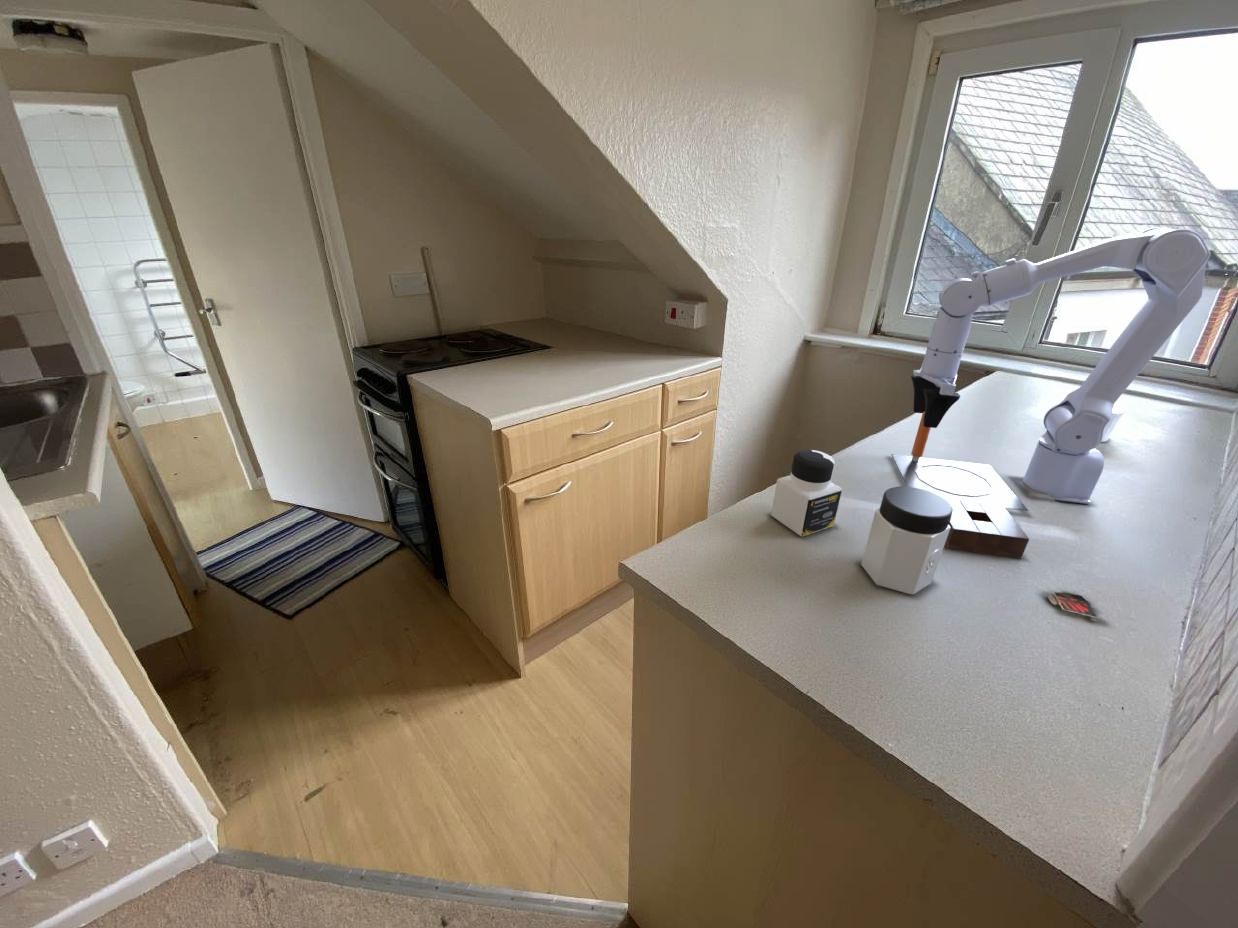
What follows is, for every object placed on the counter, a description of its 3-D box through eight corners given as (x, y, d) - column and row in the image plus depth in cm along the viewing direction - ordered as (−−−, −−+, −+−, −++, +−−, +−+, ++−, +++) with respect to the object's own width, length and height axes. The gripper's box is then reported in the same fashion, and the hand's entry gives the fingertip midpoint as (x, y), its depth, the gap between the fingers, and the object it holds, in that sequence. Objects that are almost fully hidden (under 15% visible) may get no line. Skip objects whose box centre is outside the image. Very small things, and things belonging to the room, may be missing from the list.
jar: (904, 602, 69) (930, 525, 64) (850, 569, 75) (869, 496, 70) (941, 579, 73) (967, 505, 68) (886, 549, 79) (907, 479, 74)
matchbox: (1079, 595, 71) (1080, 592, 70) (1105, 622, 66) (1107, 619, 66) (1041, 591, 71) (1042, 588, 71) (1065, 618, 67) (1066, 615, 66)
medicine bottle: (801, 537, 82) (815, 469, 77) (770, 515, 88) (780, 450, 82) (834, 526, 85) (850, 459, 80) (801, 506, 91) (814, 442, 85)
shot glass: (1078, 439, 118) (1090, 410, 115) (1067, 429, 124) (1079, 400, 121) (1116, 445, 116) (1130, 415, 113) (1103, 433, 122) (1117, 405, 119)
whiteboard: (988, 469, 105) (990, 464, 104) (1026, 515, 89) (1029, 510, 88) (890, 458, 108) (891, 453, 108) (910, 501, 93) (912, 495, 92)
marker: (919, 458, 106) (933, 412, 102) (921, 463, 104) (936, 415, 100) (908, 457, 106) (921, 411, 102) (910, 461, 105) (924, 414, 100)
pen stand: (995, 523, 87) (1003, 504, 85) (1021, 558, 78) (1029, 539, 76) (929, 514, 89) (935, 496, 87) (946, 548, 80) (953, 528, 79)
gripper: (911, 338, 102) (894, 404, 108) (931, 357, 90) (910, 431, 96) (951, 341, 101) (931, 408, 107) (977, 360, 88) (953, 435, 94)
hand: (924, 419), depth 101 cm, fingers open, 7 cm apart
